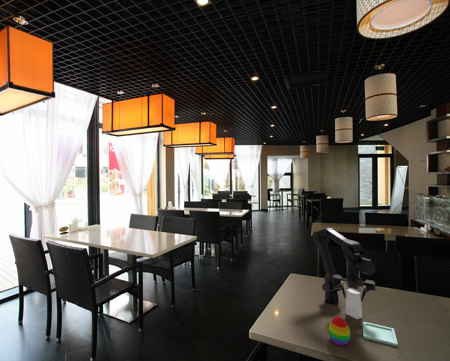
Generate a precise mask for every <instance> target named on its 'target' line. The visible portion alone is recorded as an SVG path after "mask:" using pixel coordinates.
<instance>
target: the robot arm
mask: <svg viewBox="0 0 450 361" xmlns="http://www.w3.org/2000/svg"><path fill="white" fill-rule="evenodd" d="M311 238H312V240H313V243H314V244H315V245H316V247H317V248H318V251H319V254H320V256H321V261H322V265H323V268H324V271H325V275H324V283H323V284H322V285H321V288H322V291H324V303H326V304H332V305H335V306H337V305H338V304H339V303H340V293H339V292H341V291H342V295H343V298H344V299H346V297H345V290H346V289H345V288H346V287H345V284H347V285H346V286H347V288H348V289H354V290H358V289H360V288H361V287H362V289H361V303H362V302H363V301H364V298H365V296H366V294H367V293H368V292H371V291H374V292H375V291H376V283H375V281H374V280H369V279H365V281H364V279H363V278H361V277H360V276H361V273H362V274H365V275H368V276H372V275H374V274H375V271H376V267H375V264H374V263H373V262H372V259H368V256H367V255H366V253H365V251H364V249H363V247H362V245H361V244H360V242H358V241H355V240H351V239H348V238H346V237H344V235H342V234H340V233H339V232H338V231H336V230H334V229H333V228H331V227H328V228H327V227H326V228H323V229H321V230H317V231H314V232H313V233H312V234H311ZM329 239H330V240H332V241H334V242H335V243H336V244H338V245H339V246H340V247H341V249H342V251H343V252H344V253H345V254H343V257H344V258H345V259H346V278H344V277H343V278H342V275H341V274H340V273H339V274H338V273H337V271H336V269H335V266H334V264H333V260H332V258H331V254H330V250H329V247H328V244H329ZM360 272H361V273H360ZM359 287H360V288H359Z"/></svg>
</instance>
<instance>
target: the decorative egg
mask: <svg viewBox="0 0 450 361" xmlns="http://www.w3.org/2000/svg"><path fill="white" fill-rule="evenodd" d="M350 330H351V329H350V326H349V325H348V323H347V321H346V320H345V319H344V318H343V317H341V316H334V317H333V318H332V319H331V320H330V322H329V325H328V335H329V337H330V339H331V341H332V342H333V343H334V344H336V345H338V346H346V345H347V344H348V343H349V342H350V339H351V331H350Z"/></svg>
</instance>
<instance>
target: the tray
mask: <svg viewBox="0 0 450 361" xmlns="http://www.w3.org/2000/svg"><path fill="white" fill-rule="evenodd" d="M362 331H363V332H362V333H363V334H362V335H363V339H365V340H370V341H373V342H377V343H381V344H385V345H387V346H393V347H396V348H399V344H398V340H397V336H396V332H395V328H393V327H389V326H384V325H379V324H376V323H372V322H368V321H362Z"/></svg>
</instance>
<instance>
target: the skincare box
mask: <svg viewBox="0 0 450 361" xmlns="http://www.w3.org/2000/svg"><path fill="white" fill-rule="evenodd" d="M361 296H362V292H359V291H357V290H356V289H353V288H348V289H345V314H346V315H348V316H350V317H352V318H353V319H355V320H360V319H362V318H363V314H362V313H363V311H362V302H361Z"/></svg>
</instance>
